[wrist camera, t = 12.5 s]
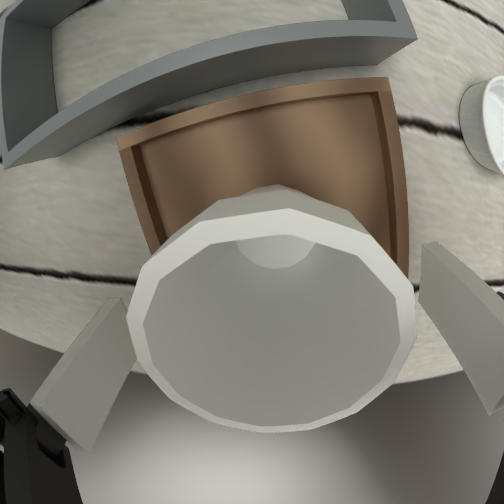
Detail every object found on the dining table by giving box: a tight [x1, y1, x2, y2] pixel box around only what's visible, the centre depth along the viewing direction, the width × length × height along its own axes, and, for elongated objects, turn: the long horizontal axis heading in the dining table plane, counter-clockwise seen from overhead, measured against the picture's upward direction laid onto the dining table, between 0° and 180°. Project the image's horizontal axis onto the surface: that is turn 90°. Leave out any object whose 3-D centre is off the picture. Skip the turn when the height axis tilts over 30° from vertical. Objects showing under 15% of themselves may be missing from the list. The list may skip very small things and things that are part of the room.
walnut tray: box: [116, 77, 409, 279], centre depth 20 cm, size 19×19×2 cm
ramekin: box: [459, 75, 504, 176], centre depth 13 cm, size 9×9×4 cm
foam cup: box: [126, 184, 417, 433], centre depth 14 cm, size 10×9×13 cm
